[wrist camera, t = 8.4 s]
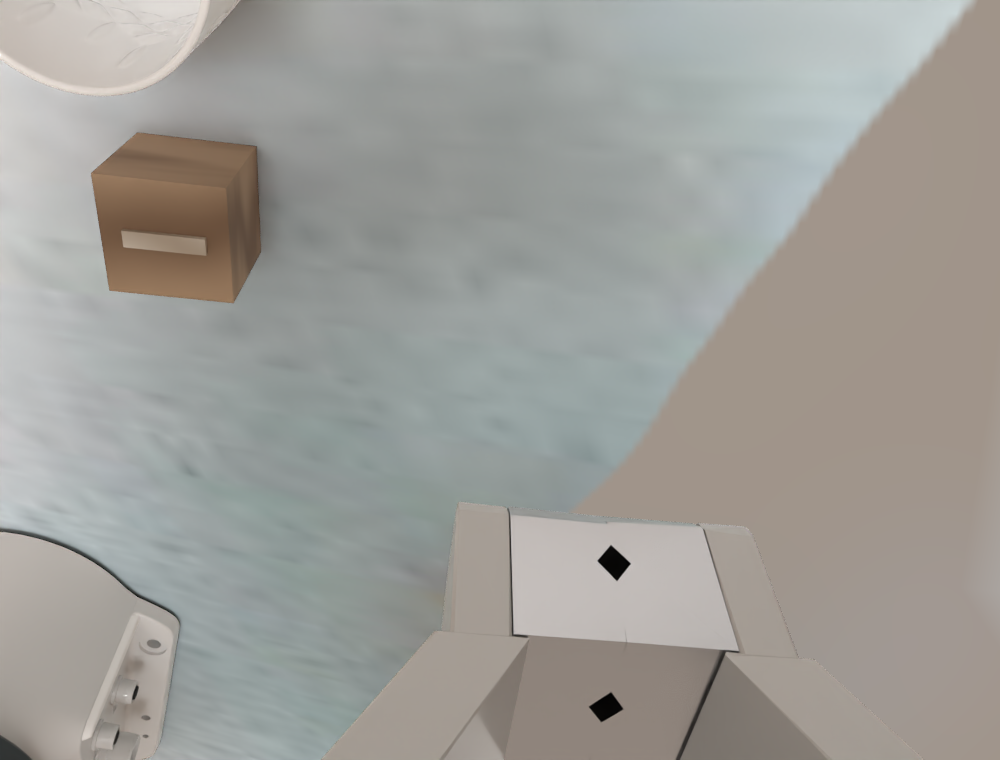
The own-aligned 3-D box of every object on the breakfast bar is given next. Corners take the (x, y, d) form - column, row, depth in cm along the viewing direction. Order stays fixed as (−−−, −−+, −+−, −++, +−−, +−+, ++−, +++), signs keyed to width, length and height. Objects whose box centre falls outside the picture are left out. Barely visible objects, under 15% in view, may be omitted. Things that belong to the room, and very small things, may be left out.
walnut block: (261, 251, 39) (232, 305, 34) (150, 239, 38) (107, 293, 34) (256, 145, 36) (224, 190, 32) (137, 132, 35) (88, 175, 31)
